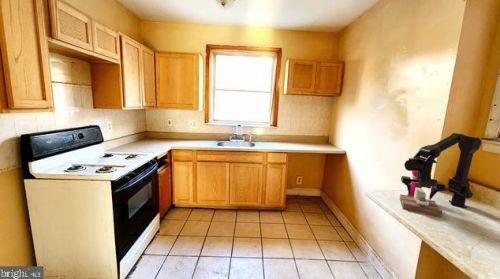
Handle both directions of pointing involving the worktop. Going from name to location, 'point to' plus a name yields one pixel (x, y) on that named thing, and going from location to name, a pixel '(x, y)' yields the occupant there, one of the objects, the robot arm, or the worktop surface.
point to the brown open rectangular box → (420, 206)
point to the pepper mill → (413, 184)
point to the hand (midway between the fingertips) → (419, 197)
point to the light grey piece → (420, 196)
